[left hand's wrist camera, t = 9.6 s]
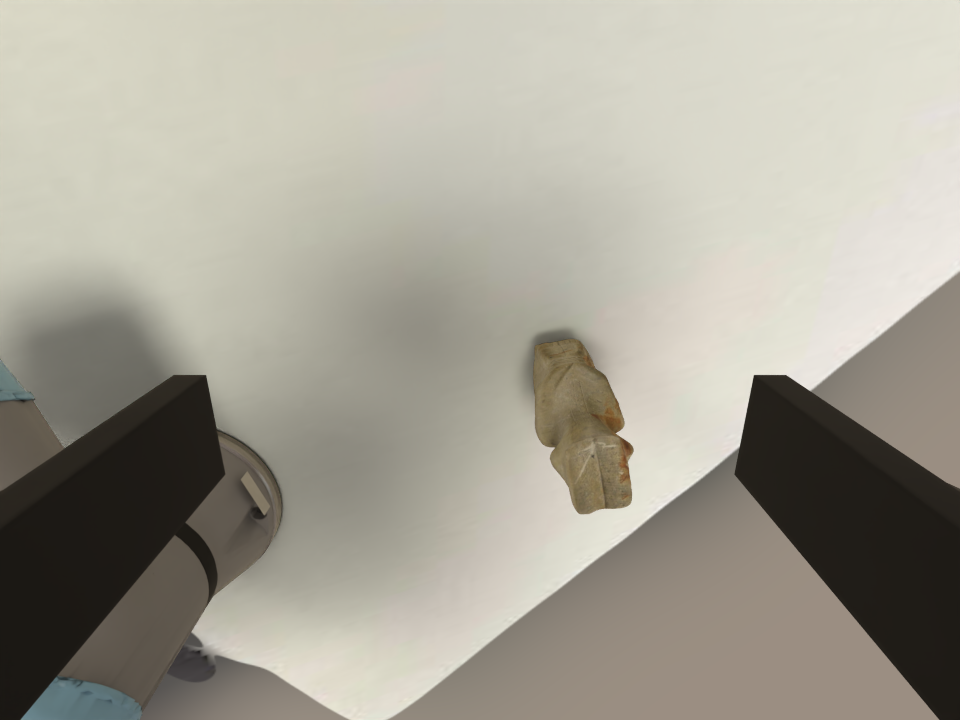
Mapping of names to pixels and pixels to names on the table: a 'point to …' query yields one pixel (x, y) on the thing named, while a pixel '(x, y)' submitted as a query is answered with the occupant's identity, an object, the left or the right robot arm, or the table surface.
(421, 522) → the table surface
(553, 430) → the sculpture
